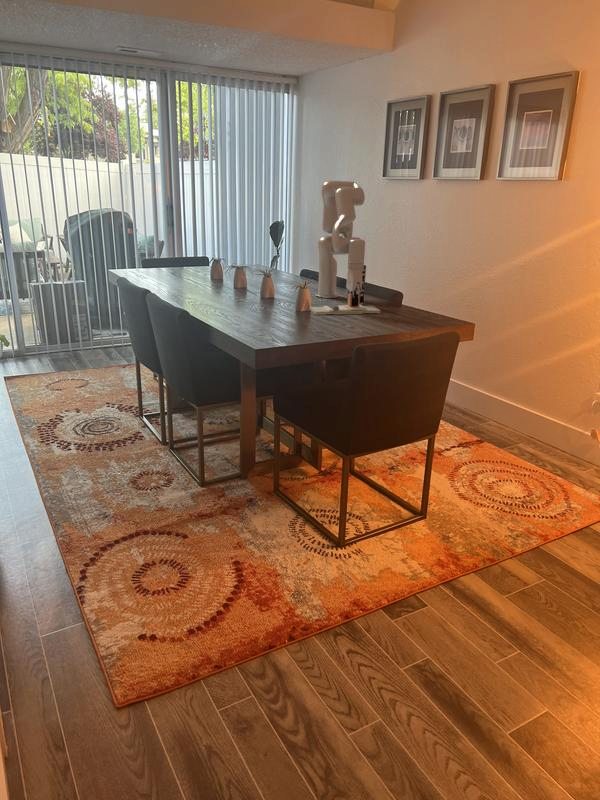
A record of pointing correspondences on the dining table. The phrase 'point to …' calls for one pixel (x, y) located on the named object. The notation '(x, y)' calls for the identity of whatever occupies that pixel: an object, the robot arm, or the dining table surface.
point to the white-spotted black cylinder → (362, 287)
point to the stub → (354, 306)
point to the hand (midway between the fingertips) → (353, 304)
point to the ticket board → (341, 309)
